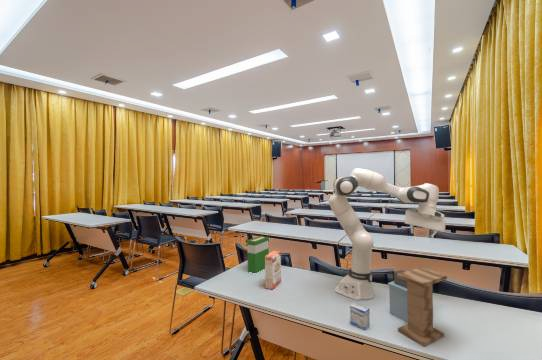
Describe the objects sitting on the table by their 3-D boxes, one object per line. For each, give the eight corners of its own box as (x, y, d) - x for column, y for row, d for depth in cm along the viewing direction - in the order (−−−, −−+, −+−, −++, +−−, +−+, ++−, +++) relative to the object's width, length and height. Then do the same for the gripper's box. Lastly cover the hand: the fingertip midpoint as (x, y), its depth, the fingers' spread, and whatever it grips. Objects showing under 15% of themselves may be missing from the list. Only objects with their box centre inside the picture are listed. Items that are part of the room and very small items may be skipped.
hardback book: (261, 265, 206) (260, 235, 206) (269, 266, 202) (268, 236, 202) (247, 272, 192) (247, 240, 191) (255, 274, 188) (254, 241, 187)
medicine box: (349, 323, 122) (349, 305, 122) (354, 319, 125) (353, 302, 125) (365, 330, 116) (365, 311, 116) (370, 326, 119) (369, 308, 119)
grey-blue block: (409, 304, 138) (409, 276, 138) (430, 314, 128) (429, 283, 128) (388, 312, 130) (387, 282, 130) (408, 323, 120) (407, 291, 120)
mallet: (421, 274, 140) (421, 263, 140) (436, 279, 133) (436, 267, 133) (394, 283, 129) (393, 271, 129) (409, 289, 122) (408, 276, 122)
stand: (421, 320, 122) (420, 267, 122) (448, 334, 112) (446, 275, 112) (397, 331, 115) (396, 274, 115) (424, 346, 104) (422, 283, 104)
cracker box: (273, 290, 160) (272, 257, 160) (264, 288, 163) (264, 256, 162) (281, 281, 173) (281, 251, 173) (273, 280, 175) (273, 250, 175)
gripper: (405, 207, 149) (400, 230, 149) (447, 215, 137) (442, 240, 136) (407, 208, 154) (403, 230, 153) (447, 216, 141) (443, 240, 141)
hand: (421, 235), depth 145 cm, fingers open, 8 cm apart
